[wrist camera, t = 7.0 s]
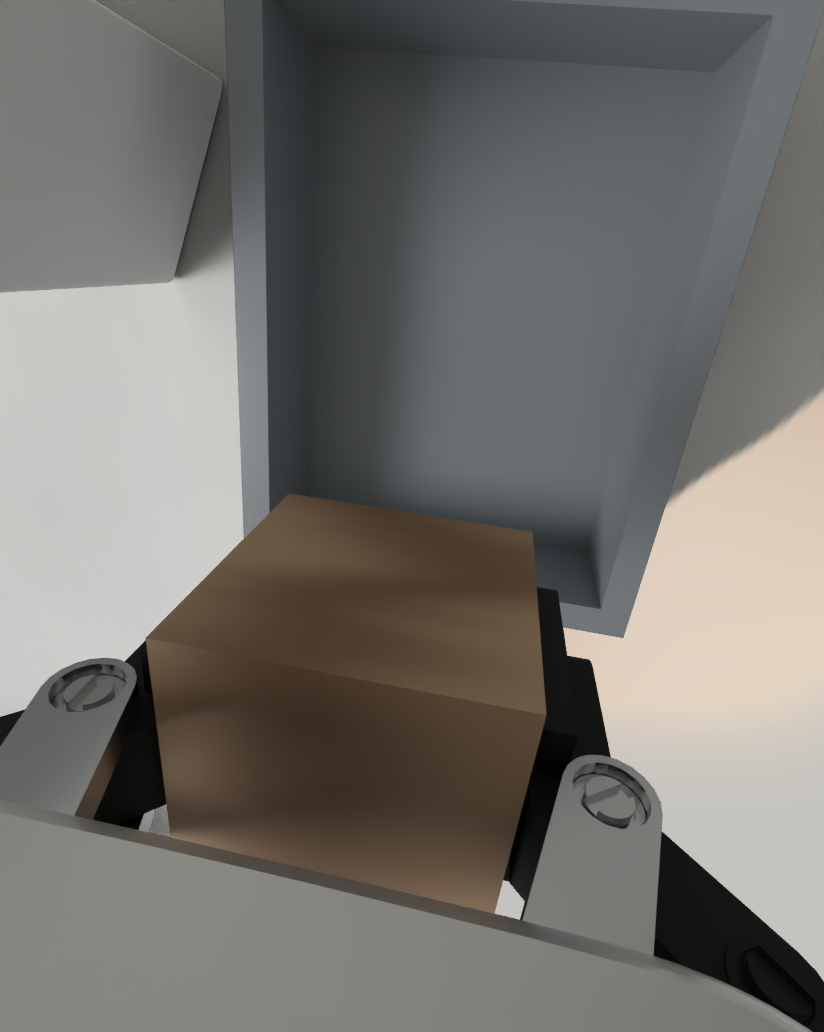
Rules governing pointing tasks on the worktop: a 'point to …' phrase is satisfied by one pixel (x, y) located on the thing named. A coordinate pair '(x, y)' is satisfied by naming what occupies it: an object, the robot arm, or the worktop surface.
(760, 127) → the tote
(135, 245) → the milk carton
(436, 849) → the walnut cube
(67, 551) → the worktop surface
